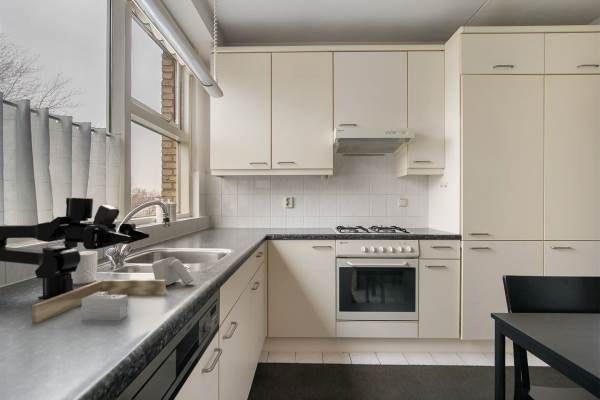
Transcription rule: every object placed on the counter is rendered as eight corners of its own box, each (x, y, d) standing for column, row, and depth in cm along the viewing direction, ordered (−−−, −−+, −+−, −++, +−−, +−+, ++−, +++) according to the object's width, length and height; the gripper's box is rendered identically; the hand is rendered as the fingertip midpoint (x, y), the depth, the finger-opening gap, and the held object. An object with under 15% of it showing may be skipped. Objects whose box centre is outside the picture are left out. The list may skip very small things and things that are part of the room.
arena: (32, 323, 70) (32, 305, 70) (101, 293, 93) (101, 279, 93) (117, 323, 70) (117, 305, 70) (165, 293, 92) (165, 279, 93)
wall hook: (186, 287, 97) (179, 255, 97) (158, 293, 99) (151, 262, 99) (200, 280, 104) (193, 251, 105) (173, 286, 106) (166, 258, 107)
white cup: (102, 280, 108) (102, 252, 108) (76, 286, 102) (76, 255, 102) (91, 278, 113) (91, 250, 113) (65, 282, 106) (65, 253, 106)
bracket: (81, 320, 72) (81, 298, 72) (98, 311, 77) (98, 291, 77) (120, 320, 71) (119, 298, 71) (133, 311, 77) (133, 291, 77)
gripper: (64, 205, 81) (121, 208, 80) (112, 206, 100) (159, 209, 99) (61, 247, 81) (118, 252, 80) (109, 240, 100) (156, 244, 99)
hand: (140, 237), depth 89 cm, fingers open, 9 cm apart
